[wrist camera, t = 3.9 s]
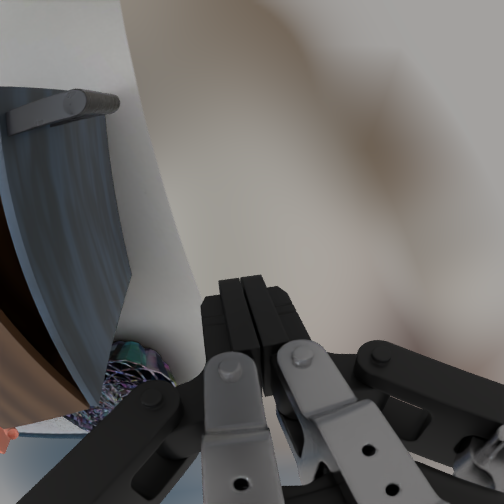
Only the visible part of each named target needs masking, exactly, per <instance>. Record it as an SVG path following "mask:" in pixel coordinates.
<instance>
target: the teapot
mask: <svg viewBox="0 0 504 504" xmlns="http://www.w3.org/2000/svg"><path fill="white" fill-rule="evenodd" d="M18 435H19V433H18V431H17V429H16V428H15V427H12V428H7V429H3V428H1V427H0V453H2V454H4V453H5V452H6V449H7V447H8V444H9V442H10V439H12V440H13V439H16V438H17V437H18Z"/></svg>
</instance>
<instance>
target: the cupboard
mask: <svg viewBox="0 0 504 504" xmlns="http://www.w3.org/2000/svg"><path fill="white" fill-rule="evenodd" d="M89 407H90V404H89V403H88V401H87V400H86V398H85V397H84V395H83V394H82V392H81V390H80V389H79V387H78V385H77V384H76V382H75V381H74V379H73V377H72V375H71V374H70V372H69V370H68V369H67V367H66V365H65V363H64V361H63V360H62V358H61V356H60V354H59V352H58V350H57V348H56V346H55V344H54V342H53V341H52V339H51V337H50V334H49V332H48V330H47V328H46V326H45V324H44V322H43V320H42V318H41V315H40V313H39V311H38V309H37V306H36V304H35V302H34V299H33V297H32V294H31V292H30V289H29V287H28V284H27V282H26V279H25V276H24V274H23V271H22V268H21V265H20V262H19V260H18V257H17V254H16V250H15V247H14V244H13V241H12V238H11V234H10V231H9V227H8V224H7V220H6V216H5V212H4V208H3V204H2V199H1V195H0V427H1V428H3V429H7V428H12V427H17V426H22V425H27V424H31V423H36V422H40V421H44V420H49V419H53V418H57V417H61V416H65V415H68V414H72V413H76V412H79V411H83V410H87V409H89Z"/></svg>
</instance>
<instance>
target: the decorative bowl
mask: <svg viewBox="0 0 504 504" xmlns="http://www.w3.org/2000/svg"><path fill="white" fill-rule="evenodd" d="M149 380H163V381H166V382H169V383H171V384H172V385H173V386H175V387H176V386H177V384H176V382H175V380H174V377H173V375H172V373H171V371H170V369H169V366H168V365H167V364H166V363H165V362H163V361H162V359H161V356H160V355H159V354H158V353H157V352H156V351H154V350H152V349H150V348H147V349H144V348H143V347H142V346H141V345H140V344H139V343H137V342H134V341H129V342H122V341H118V342H115V343H113V344H112V347H111V351H110V355H109V360H108V364H107V368H106V373H105V377H104V382H103V387H102V392H101V397H100V402H99V406H90V407H89V409H87V410H83V411H79V412H76V413H72V414H68V415H65V416H63V417H64V418H66V419H67V420H69V421H70V422H72V423H73V424H75V425H77V426H78V427H80V428H81V429H83V430H86V431H87V432H90V431H91V430H92V429H93V428H94V427H95V426H97V425H98V424H99V423H100V422H101V421H102V420H103V419H104V418H105V417H106V416H107V415H108V414H109V413H110V412H111V411H112V410H113V409H114V408H115V407H116V406H117V405H118V404H119V403H120V402H121V401H122V400H123V399H124V398H125V397H126V396H127V395H128V394H129V393H130V392H131V391H132V390H133V389H134V388H135V387H136V386H138V385H139V384H141V383H143V382H146V381H149Z"/></svg>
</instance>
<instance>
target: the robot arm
mask: <svg viewBox="0 0 504 504" xmlns="http://www.w3.org/2000/svg"><path fill="white" fill-rule="evenodd" d="M219 290H220V295H214V296H206V297H205V299H204V301H203V303H202V304H201V316H202V326H203V336H204V346H205V354H206V364H205V367H204V369H203V370H202V372H201V373H200V374H199V375H198V376H197V377H196V378H194V379H193V380H191V381H189V382H187V383H184V384H181V385H179V386H176V387H175V386H173V385H172V384H171V383H169V382H166V381H163V380H149V381H146V382H143V383H141V384H139V385H138V386H136V387H135V388H134V389H133V390H132V391H131V392H130V393H129V394H128V395H127V396H126V397H125V398H124V399H123V400H122V401H121V402H120V403H119V404H118V405H117V406H116V407H115V408H114V409H113V410H112V411H111V412H110V413H109V414H108V415H107V416H106V417H105V418H104V419H103V420H102V421H101V422H100V423H99V424H98V425H97V426H95V427H94V428H93V429H92V430H91V431H90V432H89V433H88V434H87V435H86V436H85V437H84V438H83V439H82V440H81V441H80V442H79V443H78V444H77V445H76V446H75V447H74V448H73V449H72V450H71V451H70V452H69V453H68V454H67V455H66V456H65V457H64V458H63V459H62V460H61V461H60V462H59V463H58V464H57V465H56V466H55V467H54V468H53V469H51V471H49V472H48V473H47V474H46V475H45V476H44V478H42V479H41V480H40V481H39V482H38V483H37V484H36V485H35V486H34V487H33V488H32V489H31V490H30V491H29V492H28V493H27V494H25V495H24V496H23V497H22V498H21V499H20V500H19V501H18V502H17V503H16V504H160V503H161V502H162V500H163V499H164V498H165V497H166V495H167V494H168V493H169V492H170V490H171V489H172V488H173V487H174V485H175V484H176V483H177V482H178V481H179V479H180V478H181V477H182V476H183V474H184V473H185V471H186V470H187V469H188V468H189V466H190V465H191V464H192V463H193V461H194V460H195V459H196V457H197V455H198V454H199V452H201V463H202V486H203V504H504V385H503V384H500V383H497V382H494V381H492V380H489V379H486V378H483V377H480V376H477V375H475V374H472V373H469V372H466V371H464V370H461V369H458V368H455V367H453V366H450V365H447V364H445V363H442V362H439V361H437V360H434V359H431V358H429V357H426V356H423V355H421V354H418V353H415V352H413V351H410V350H408V349H405V348H403V347H400V346H397V345H394V344H392V343H389V342H387V341H381V340H374V341H369V342H367V343H365V344H363V345H362V346H361V347H360V348H359V350H358V352H357V354H334V353H329V352H326V350H325V349H324V348H323V347H322V346H321V345H320V344H318V343H316V342H314V341H312V340H311V339H310V337H309V335H308V333H307V331H306V329H305V327H304V325H303V323H302V321H301V319H300V317H299V315H298V313H297V312H296V309H295V307H294V305H293V304H292V301H291V300H290V298H289V296H288V294H287V293H286V292H285V291H283V290H282V289H281V288H279V287H278V286H274V287H268V288H267V287H266V285H265V282H264V280H263V278H262V276H261V275H254V276H247V277H241V278H240V280H239V278H234V279H227V280H219ZM262 388H263V392H264V395H265V397H266V396H272V395H273V396H274V399H275V402H276V415H277V418H278V420H279V423H280V425H281V427H282V430H283V431H284V434H285V437H286V439H287V442H288V444H289V446H290V448H291V451H292V453H293V455H294V458H295V460H296V463H297V467H298V472H299V477H300V480H301V483H302V486H281V483H280V478H279V473H278V468H277V463H276V458H275V453H274V448H273V442H272V437H271V433H270V430H269V428H268V427H267V423H266V417H265V412H264V407H263V402H262ZM390 396H393V397H395V398H397V399H395V398H393V397H390ZM398 399H400V400H402V401H405V402H407V403H410V404H412V405H415V406H417V407H420V408H422V409H420V408H417V407H415V406H412V405H410V404H407V403H405V402H402V401H400V400H398ZM408 451H409V452H412V453H415V454H417V455H420V456H422V457H425V458H427V459H430V460H433V461H435V462H438V463H441V464H444V465H446V466H449V467H452V468H453V469H454V473H453V475H450V474H447V473H445V472H442V471H440V470H438V469H435V468H432V467H430V466H428V465H425V464H423V463H420V462H417V461H414V460H413V458H412V457H411V455H410V454H409V452H408Z"/></svg>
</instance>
